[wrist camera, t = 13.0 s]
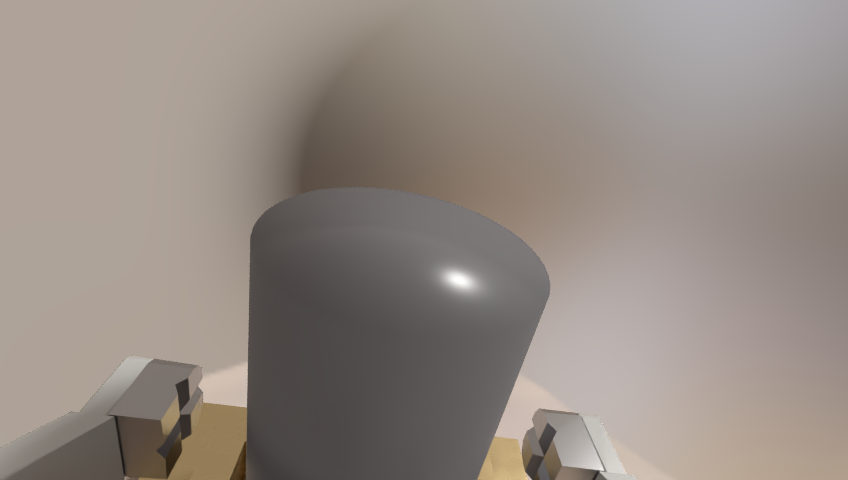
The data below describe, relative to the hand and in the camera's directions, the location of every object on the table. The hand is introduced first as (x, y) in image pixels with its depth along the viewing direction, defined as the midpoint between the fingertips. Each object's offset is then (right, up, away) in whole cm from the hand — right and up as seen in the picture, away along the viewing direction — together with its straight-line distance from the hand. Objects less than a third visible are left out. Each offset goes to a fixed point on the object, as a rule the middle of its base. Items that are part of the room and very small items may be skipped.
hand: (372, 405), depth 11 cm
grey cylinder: (-2, -8, +3) cm, 9 cm away
